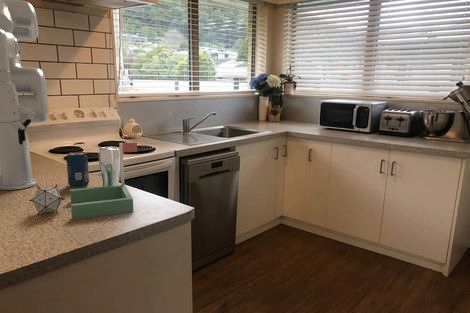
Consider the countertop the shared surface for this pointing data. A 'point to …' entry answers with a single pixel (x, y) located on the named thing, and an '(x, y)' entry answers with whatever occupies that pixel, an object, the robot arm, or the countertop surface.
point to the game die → (47, 199)
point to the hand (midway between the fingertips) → (0, 144)
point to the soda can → (77, 169)
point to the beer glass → (109, 165)
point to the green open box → (104, 195)
